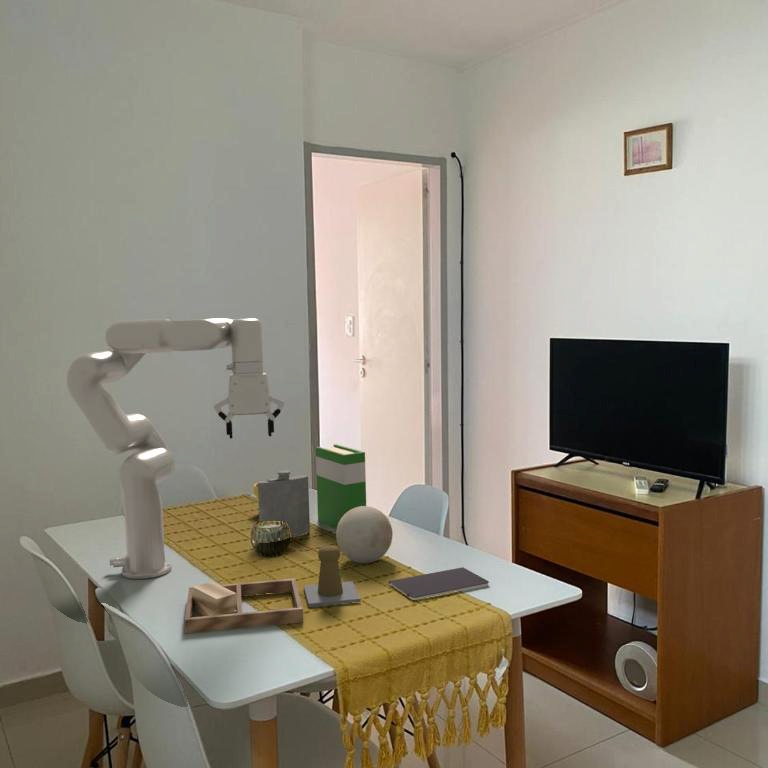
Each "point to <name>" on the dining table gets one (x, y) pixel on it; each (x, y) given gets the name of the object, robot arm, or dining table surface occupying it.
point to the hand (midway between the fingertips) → (250, 436)
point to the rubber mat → (346, 597)
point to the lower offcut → (210, 610)
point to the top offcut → (215, 596)
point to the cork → (329, 572)
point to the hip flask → (285, 501)
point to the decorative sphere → (364, 534)
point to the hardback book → (339, 482)
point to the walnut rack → (248, 617)
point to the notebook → (439, 583)
